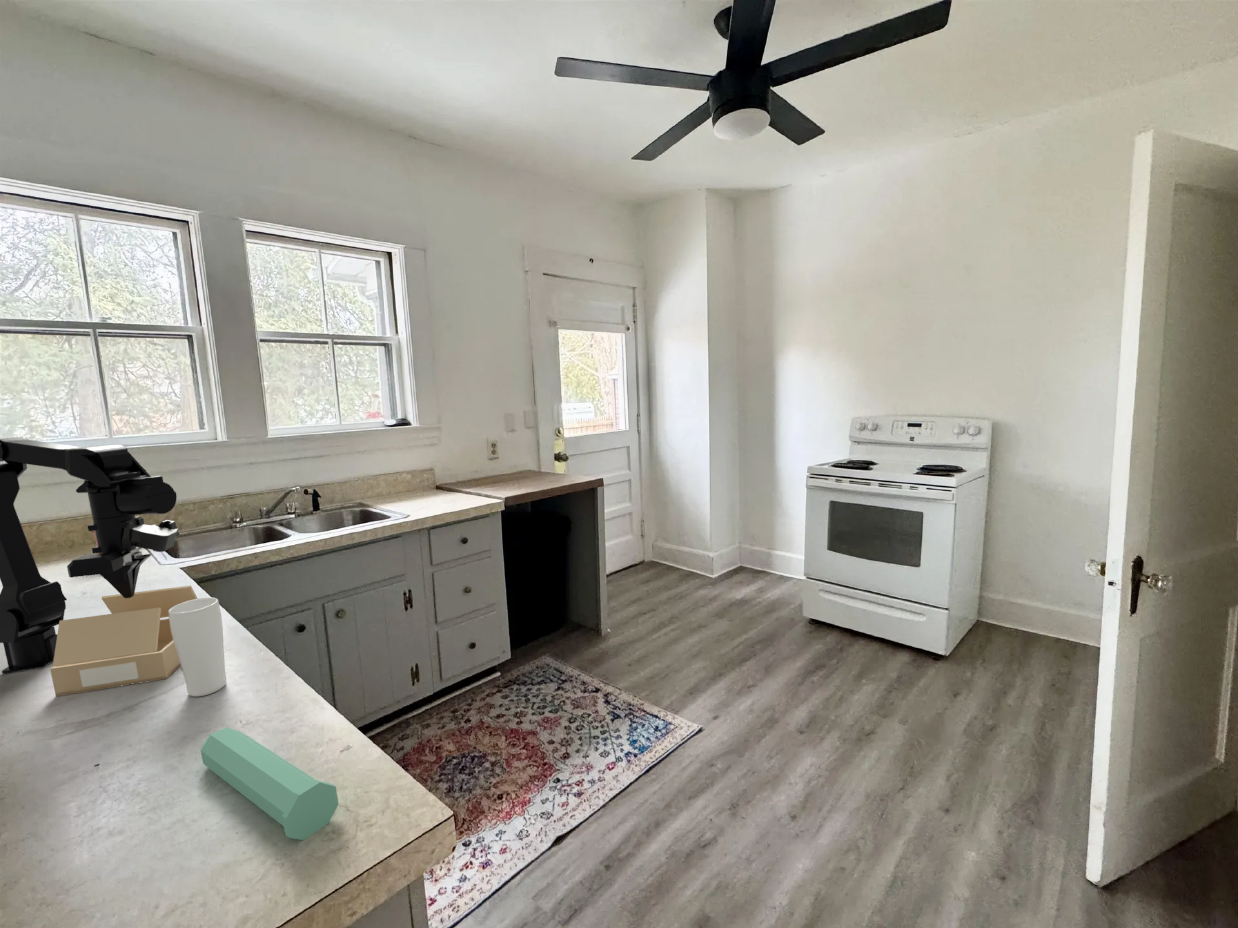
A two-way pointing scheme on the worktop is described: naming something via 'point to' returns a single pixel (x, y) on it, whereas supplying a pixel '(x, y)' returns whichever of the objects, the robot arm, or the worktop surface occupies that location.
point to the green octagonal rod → (271, 782)
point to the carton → (119, 668)
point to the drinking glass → (199, 644)
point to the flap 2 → (150, 600)
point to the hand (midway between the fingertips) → (129, 597)
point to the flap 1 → (107, 636)
